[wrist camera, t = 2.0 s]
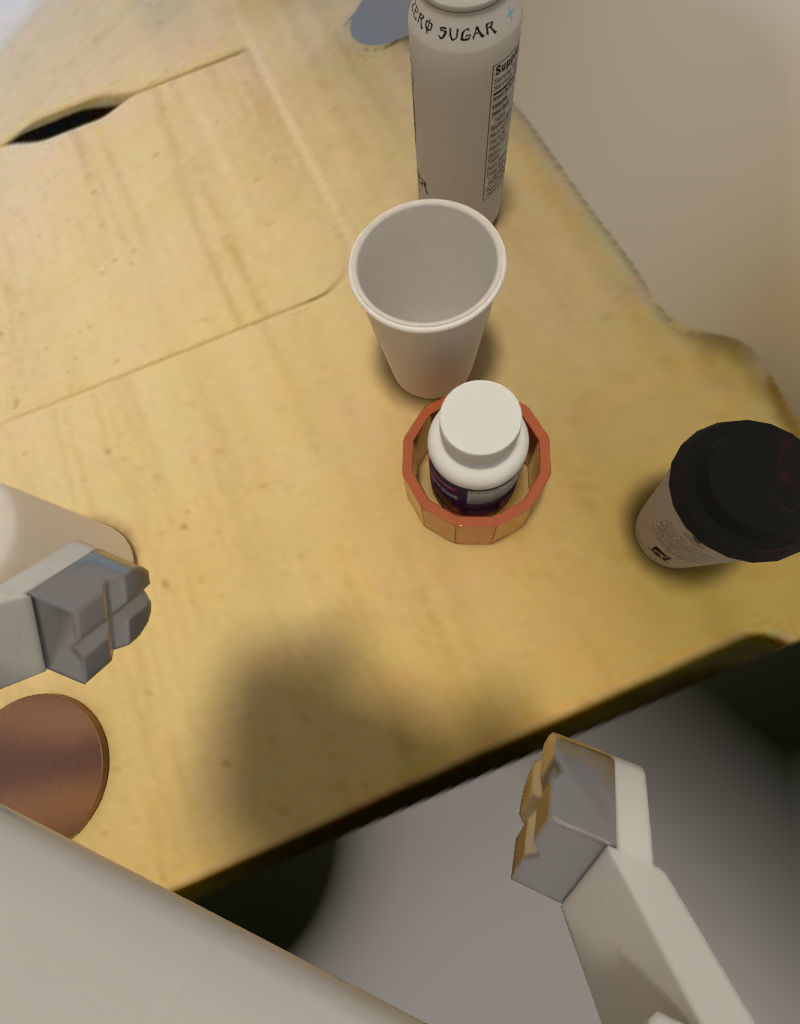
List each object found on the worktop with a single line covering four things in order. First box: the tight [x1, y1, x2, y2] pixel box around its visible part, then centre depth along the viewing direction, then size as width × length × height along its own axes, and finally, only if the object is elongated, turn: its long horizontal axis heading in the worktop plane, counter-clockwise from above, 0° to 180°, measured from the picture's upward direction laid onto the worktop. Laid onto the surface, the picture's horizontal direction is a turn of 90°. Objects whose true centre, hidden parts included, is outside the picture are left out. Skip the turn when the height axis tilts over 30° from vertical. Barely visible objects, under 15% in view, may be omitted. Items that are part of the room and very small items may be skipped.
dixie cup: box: [348, 199, 507, 399], centre depth 33 cm, size 8×8×10 cm
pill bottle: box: [428, 380, 529, 517], centre depth 31 cm, size 5×5×10 cm
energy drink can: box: [408, 0, 523, 224], centre depth 34 cm, size 6×6×15 cm
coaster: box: [0, 694, 109, 839], centre depth 32 cm, size 9×9×1 cm
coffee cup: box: [635, 420, 800, 569], centre depth 28 cm, size 7×7×10 cm
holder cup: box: [402, 395, 551, 544], centre depth 33 cm, size 8×8×4 cm
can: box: [0, 483, 134, 583], centre depth 30 cm, size 6×6×12 cm
